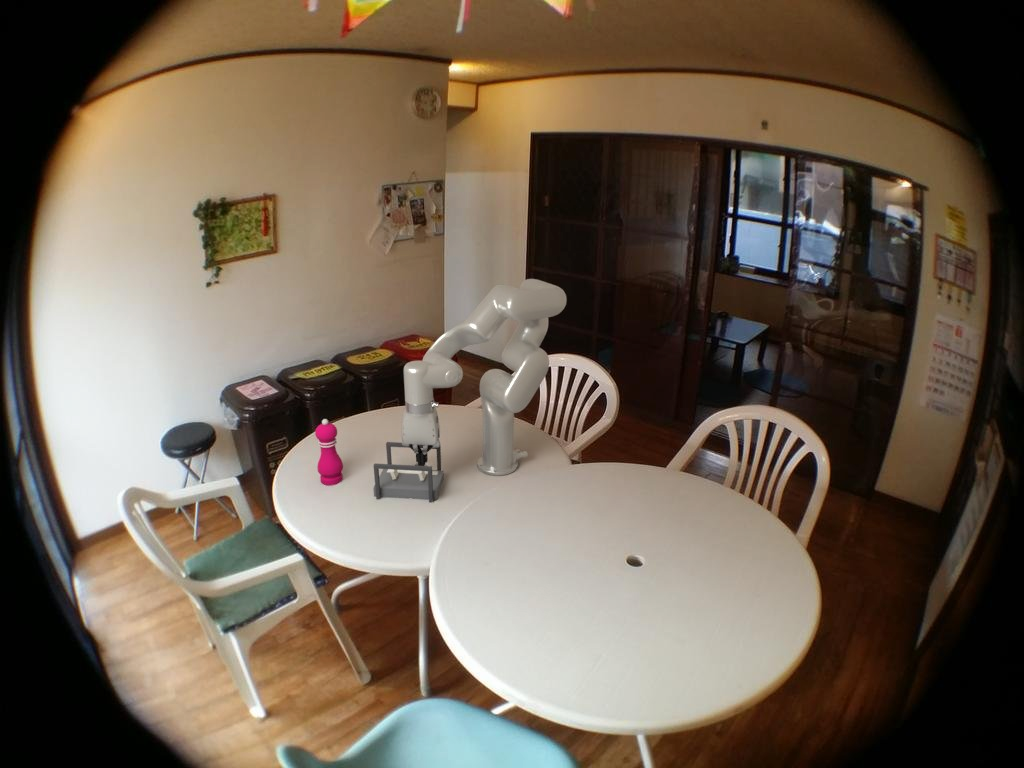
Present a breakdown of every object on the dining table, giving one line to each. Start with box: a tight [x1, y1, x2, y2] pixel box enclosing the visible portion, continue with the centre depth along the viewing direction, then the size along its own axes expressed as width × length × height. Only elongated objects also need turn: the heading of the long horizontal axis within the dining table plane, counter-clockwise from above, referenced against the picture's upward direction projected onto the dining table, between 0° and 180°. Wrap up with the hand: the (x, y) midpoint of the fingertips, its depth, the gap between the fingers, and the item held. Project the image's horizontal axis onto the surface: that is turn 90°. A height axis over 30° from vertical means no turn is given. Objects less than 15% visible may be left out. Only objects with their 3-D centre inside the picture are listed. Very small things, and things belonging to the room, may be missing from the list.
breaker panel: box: [372, 469, 445, 501], centre depth 165 cm, size 18×11×3 cm, turn 86°
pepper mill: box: [314, 418, 344, 486], centre depth 164 cm, size 7×7×20 cm
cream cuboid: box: [418, 471, 426, 481], centre depth 163 cm, size 1×3×2 cm, turn 174°
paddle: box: [390, 469, 398, 479], centre depth 164 cm, size 1×3×2 cm, turn 174°
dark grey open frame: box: [373, 441, 442, 503], centre depth 163 cm, size 16×14×11 cm
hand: (422, 464), depth 162 cm, fingers closed
